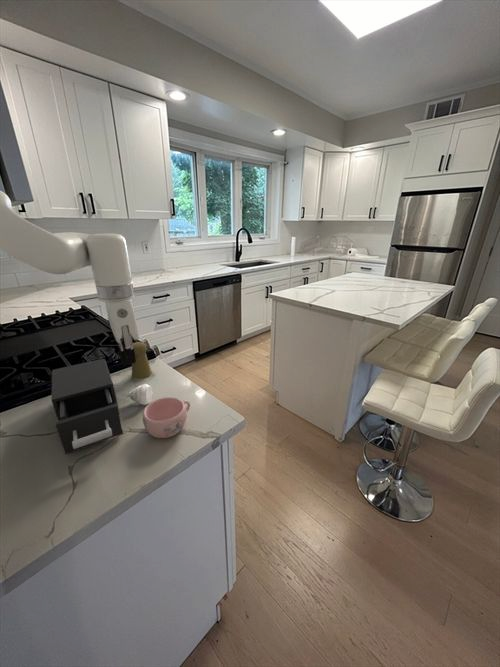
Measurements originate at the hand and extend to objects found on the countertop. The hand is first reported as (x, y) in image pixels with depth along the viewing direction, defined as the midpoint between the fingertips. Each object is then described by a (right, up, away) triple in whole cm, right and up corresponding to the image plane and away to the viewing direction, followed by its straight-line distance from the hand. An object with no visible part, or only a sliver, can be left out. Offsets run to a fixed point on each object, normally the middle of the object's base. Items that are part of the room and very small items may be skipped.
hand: (128, 362), depth 70 cm
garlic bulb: (0, -12, +7) cm, 14 cm away
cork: (-5, -6, +21) cm, 22 cm away
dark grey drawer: (-6, -15, -5) cm, 17 cm away
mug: (+11, -16, -2) cm, 19 cm away
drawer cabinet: (-13, -13, +5) cm, 18 cm away
